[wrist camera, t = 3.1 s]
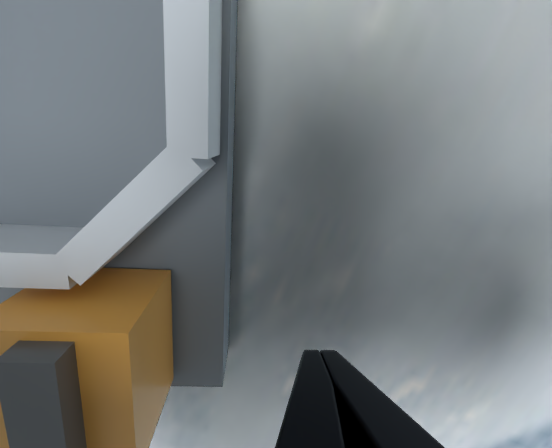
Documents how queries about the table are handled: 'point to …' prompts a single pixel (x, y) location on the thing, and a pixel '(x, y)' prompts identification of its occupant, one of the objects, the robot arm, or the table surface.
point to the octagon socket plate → (122, 155)
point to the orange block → (86, 362)
